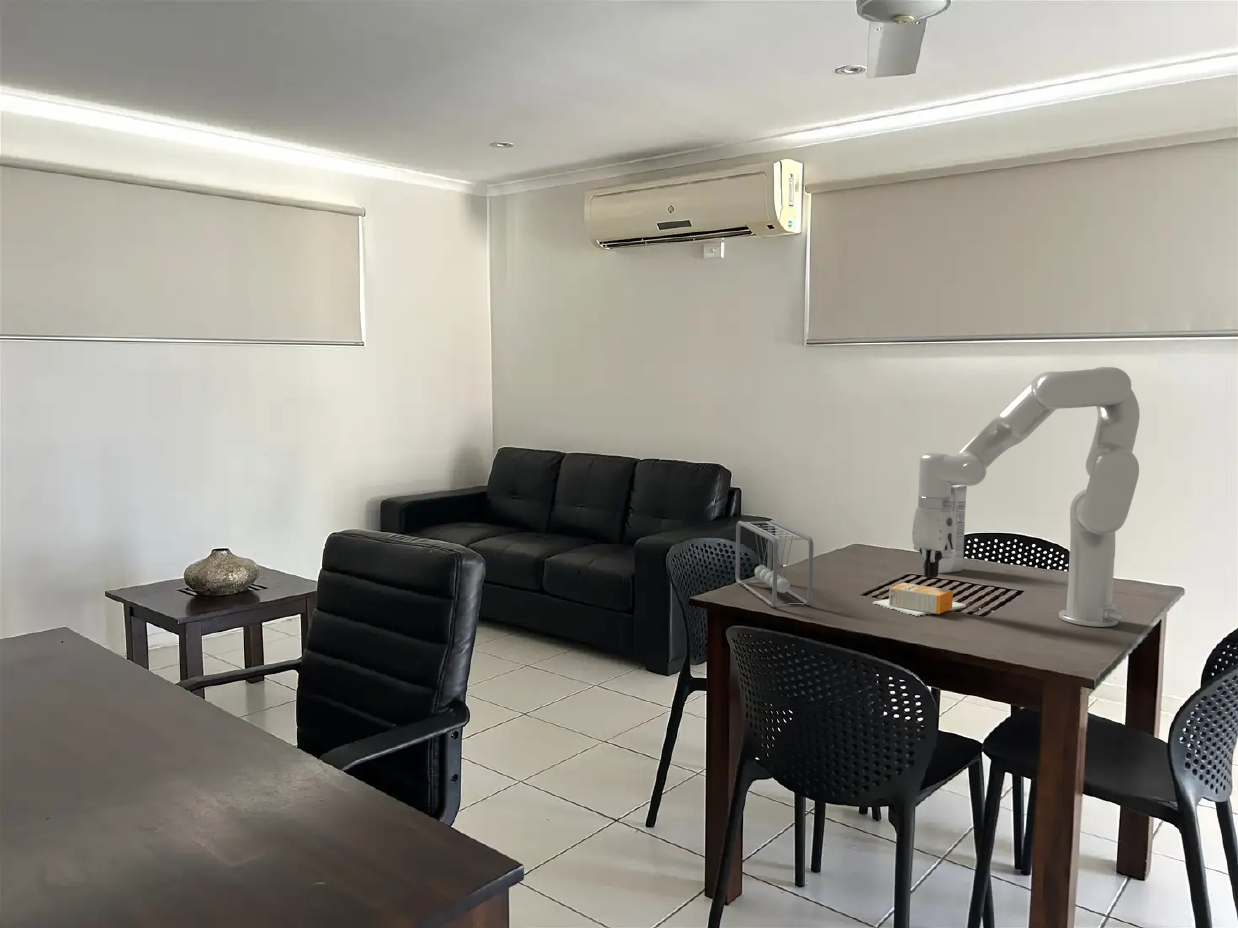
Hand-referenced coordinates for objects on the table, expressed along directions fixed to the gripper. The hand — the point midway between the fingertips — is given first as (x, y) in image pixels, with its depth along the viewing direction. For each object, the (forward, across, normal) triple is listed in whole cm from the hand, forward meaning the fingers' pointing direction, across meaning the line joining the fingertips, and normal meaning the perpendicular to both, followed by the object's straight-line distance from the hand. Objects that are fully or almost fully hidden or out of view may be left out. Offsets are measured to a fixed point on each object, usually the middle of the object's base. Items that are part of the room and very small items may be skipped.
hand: (931, 576), depth 230 cm
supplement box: (+5, -6, +1) cm, 8 cm away
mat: (+8, +3, 0) cm, 9 cm away
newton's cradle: (+9, +32, +24) cm, 41 cm away
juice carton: (+8, +28, -39) cm, 49 cm away
